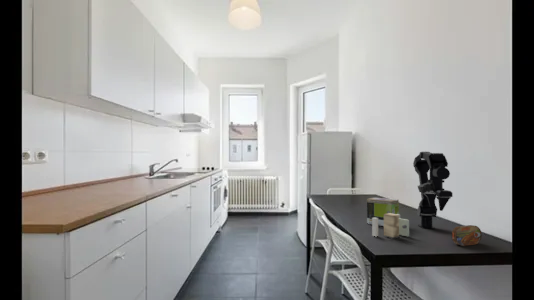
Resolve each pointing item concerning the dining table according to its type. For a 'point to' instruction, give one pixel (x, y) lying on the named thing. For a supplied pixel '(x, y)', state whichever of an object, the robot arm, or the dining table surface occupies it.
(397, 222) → the block
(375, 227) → the door frame
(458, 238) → the tin
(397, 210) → the tea box
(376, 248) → the dining table surface
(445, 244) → the dining table surface
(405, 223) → the door leaf
